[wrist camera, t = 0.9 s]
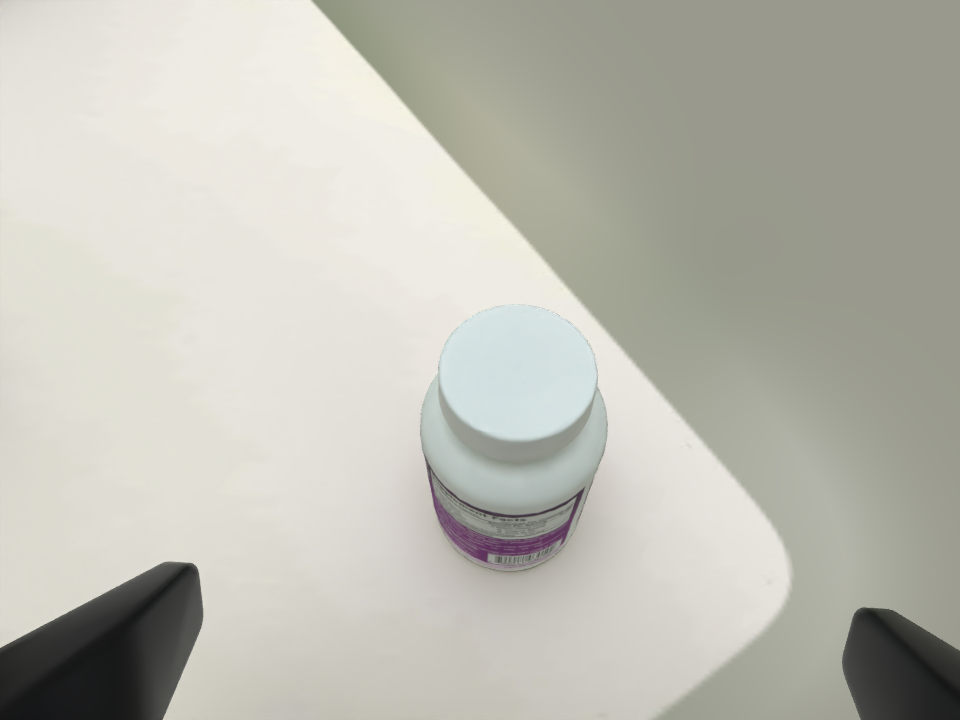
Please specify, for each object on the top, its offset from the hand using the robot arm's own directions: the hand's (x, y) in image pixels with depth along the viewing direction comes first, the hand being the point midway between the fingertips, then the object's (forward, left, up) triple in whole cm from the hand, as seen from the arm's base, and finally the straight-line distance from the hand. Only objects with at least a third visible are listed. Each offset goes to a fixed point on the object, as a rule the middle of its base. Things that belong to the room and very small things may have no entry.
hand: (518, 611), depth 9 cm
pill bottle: (+7, 0, -14) cm, 16 cm away
